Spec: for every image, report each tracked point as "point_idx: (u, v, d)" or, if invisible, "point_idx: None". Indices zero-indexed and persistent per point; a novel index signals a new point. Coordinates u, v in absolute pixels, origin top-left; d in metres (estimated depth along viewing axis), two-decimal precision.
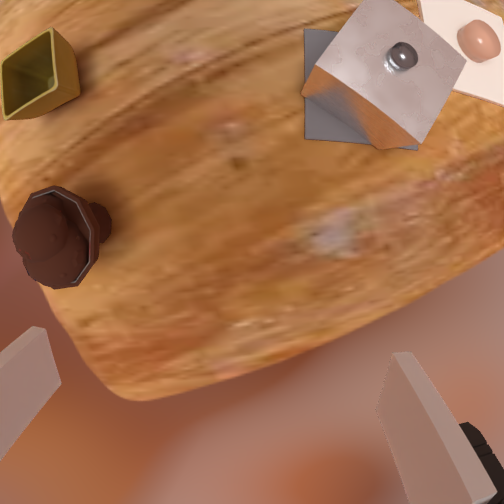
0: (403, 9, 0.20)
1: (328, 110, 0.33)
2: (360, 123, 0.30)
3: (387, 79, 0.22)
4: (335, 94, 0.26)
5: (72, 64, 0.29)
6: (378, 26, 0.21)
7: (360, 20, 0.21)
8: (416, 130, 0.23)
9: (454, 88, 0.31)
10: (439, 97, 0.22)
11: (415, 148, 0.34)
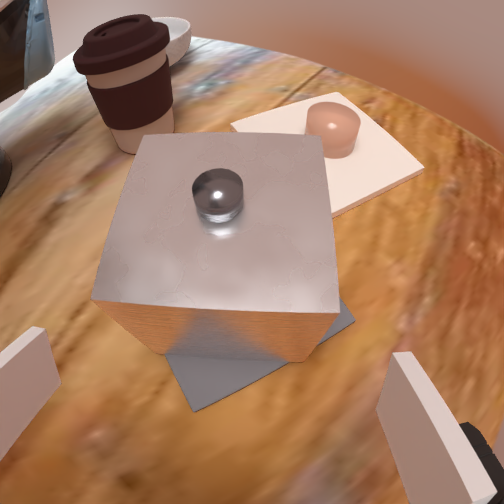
0: (193, 135, 0.19)
1: (200, 355, 0.22)
2: (245, 348, 0.19)
3: (214, 249, 0.15)
4: (169, 330, 0.17)
5: None
6: (165, 180, 0.17)
7: (136, 189, 0.17)
8: (316, 296, 0.13)
9: (345, 205, 0.29)
10: (317, 213, 0.16)
11: (351, 320, 0.24)
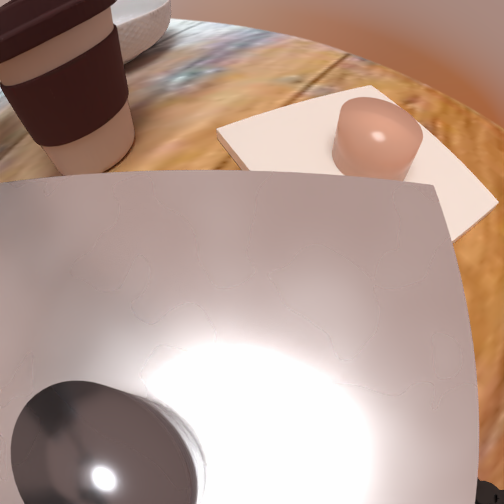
0: (80, 183, 0.06)
1: None
2: None
3: None
4: None
5: None
6: None
7: None
8: None
9: None
10: (442, 493, 0.03)
11: None
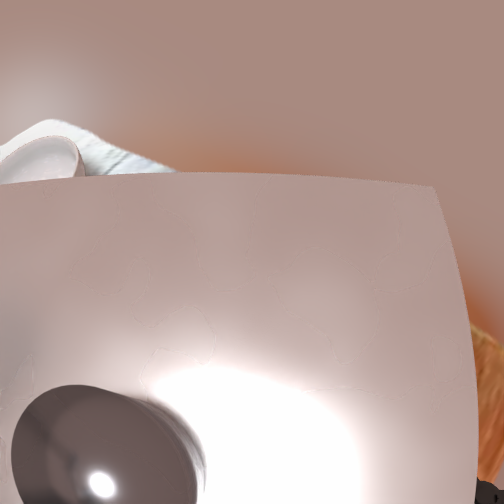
0: (80, 185, 0.06)
1: None
2: None
3: None
4: None
5: None
6: None
7: None
8: None
9: None
10: (441, 496, 0.03)
11: None
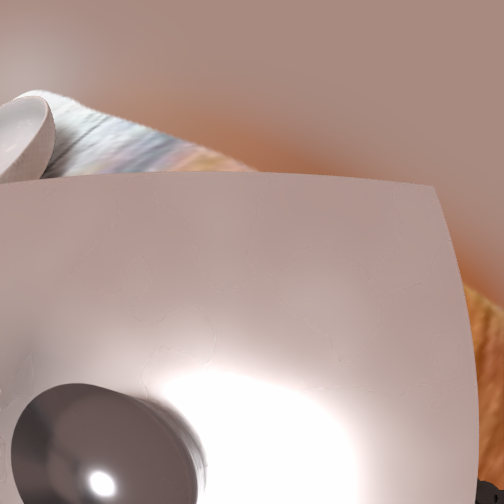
0: (80, 184, 0.06)
1: None
2: None
3: None
4: None
5: None
6: None
7: None
8: None
9: None
10: (442, 495, 0.03)
11: None
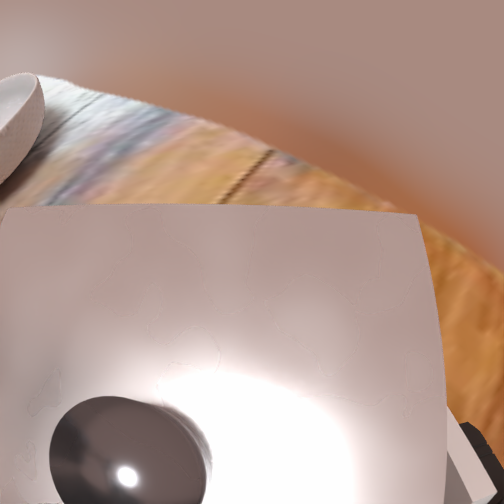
0: (94, 213, 0.07)
1: None
2: None
3: None
4: None
5: None
6: (21, 359, 0.05)
7: None
8: None
9: None
10: (413, 490, 0.04)
11: None
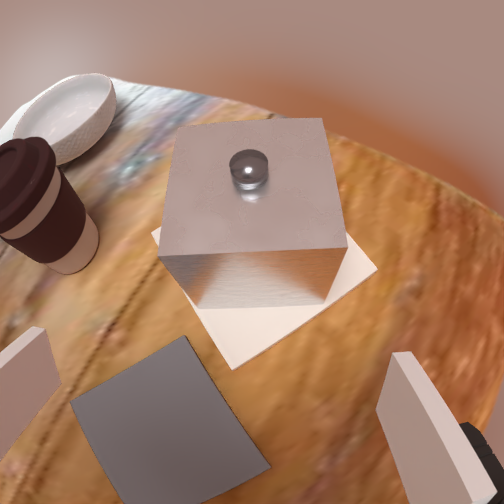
0: (220, 124, 0.23)
1: (237, 305, 0.27)
2: (276, 292, 0.24)
3: (250, 209, 0.20)
4: (217, 278, 0.22)
5: None
6: (204, 161, 0.22)
7: (181, 170, 0.21)
8: (329, 236, 0.18)
9: (268, 345, 0.27)
10: (324, 178, 0.20)
11: (266, 468, 0.22)
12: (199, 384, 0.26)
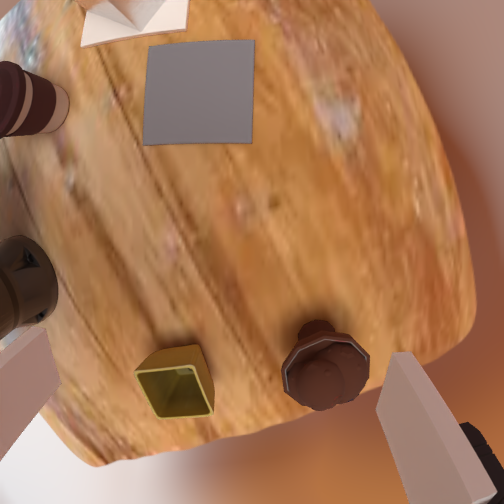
0: None
1: (154, 9, 0.32)
2: None
3: None
4: None
5: (170, 351, 0.43)
6: None
7: None
8: None
9: (186, 6, 0.33)
10: None
11: (253, 42, 0.35)
12: (180, 49, 0.35)
